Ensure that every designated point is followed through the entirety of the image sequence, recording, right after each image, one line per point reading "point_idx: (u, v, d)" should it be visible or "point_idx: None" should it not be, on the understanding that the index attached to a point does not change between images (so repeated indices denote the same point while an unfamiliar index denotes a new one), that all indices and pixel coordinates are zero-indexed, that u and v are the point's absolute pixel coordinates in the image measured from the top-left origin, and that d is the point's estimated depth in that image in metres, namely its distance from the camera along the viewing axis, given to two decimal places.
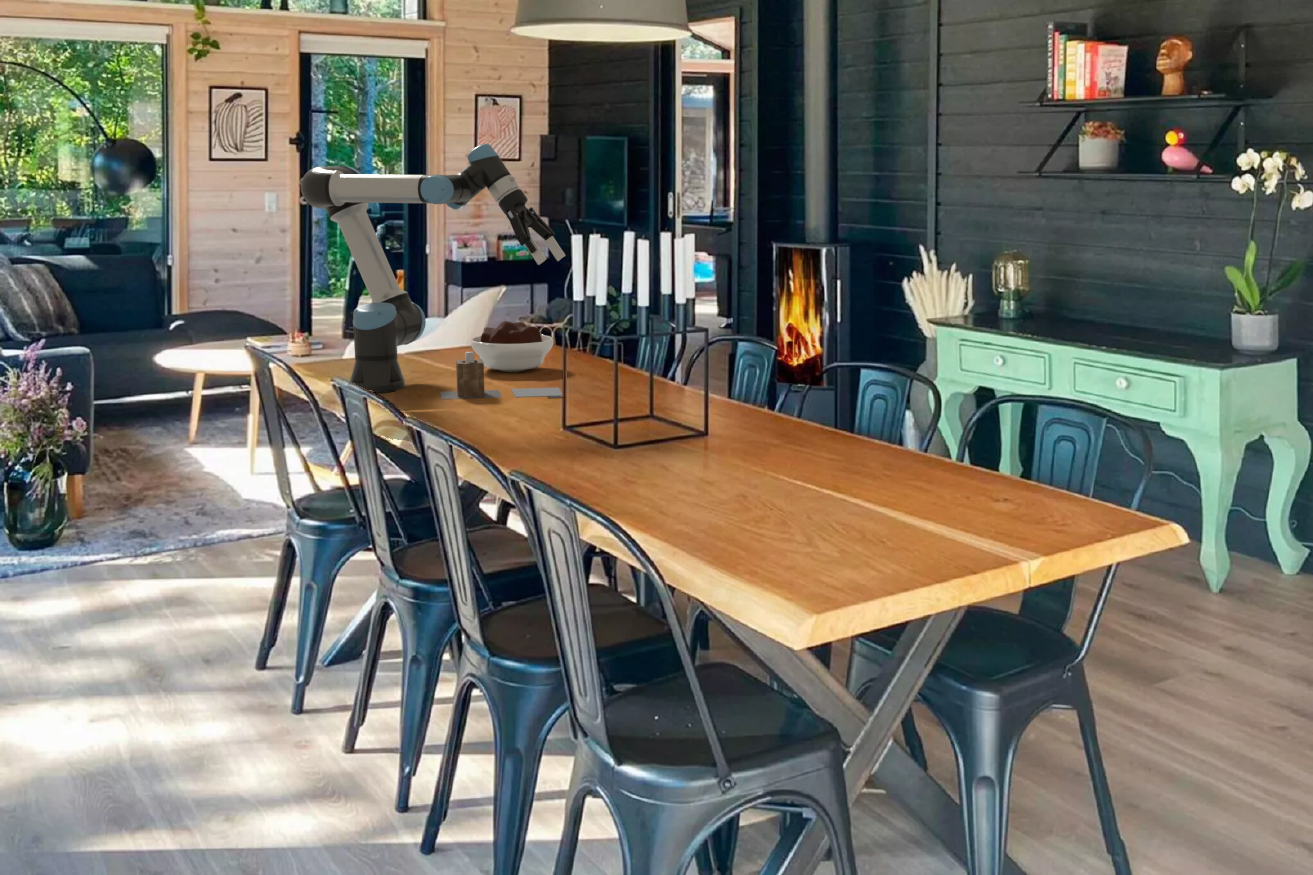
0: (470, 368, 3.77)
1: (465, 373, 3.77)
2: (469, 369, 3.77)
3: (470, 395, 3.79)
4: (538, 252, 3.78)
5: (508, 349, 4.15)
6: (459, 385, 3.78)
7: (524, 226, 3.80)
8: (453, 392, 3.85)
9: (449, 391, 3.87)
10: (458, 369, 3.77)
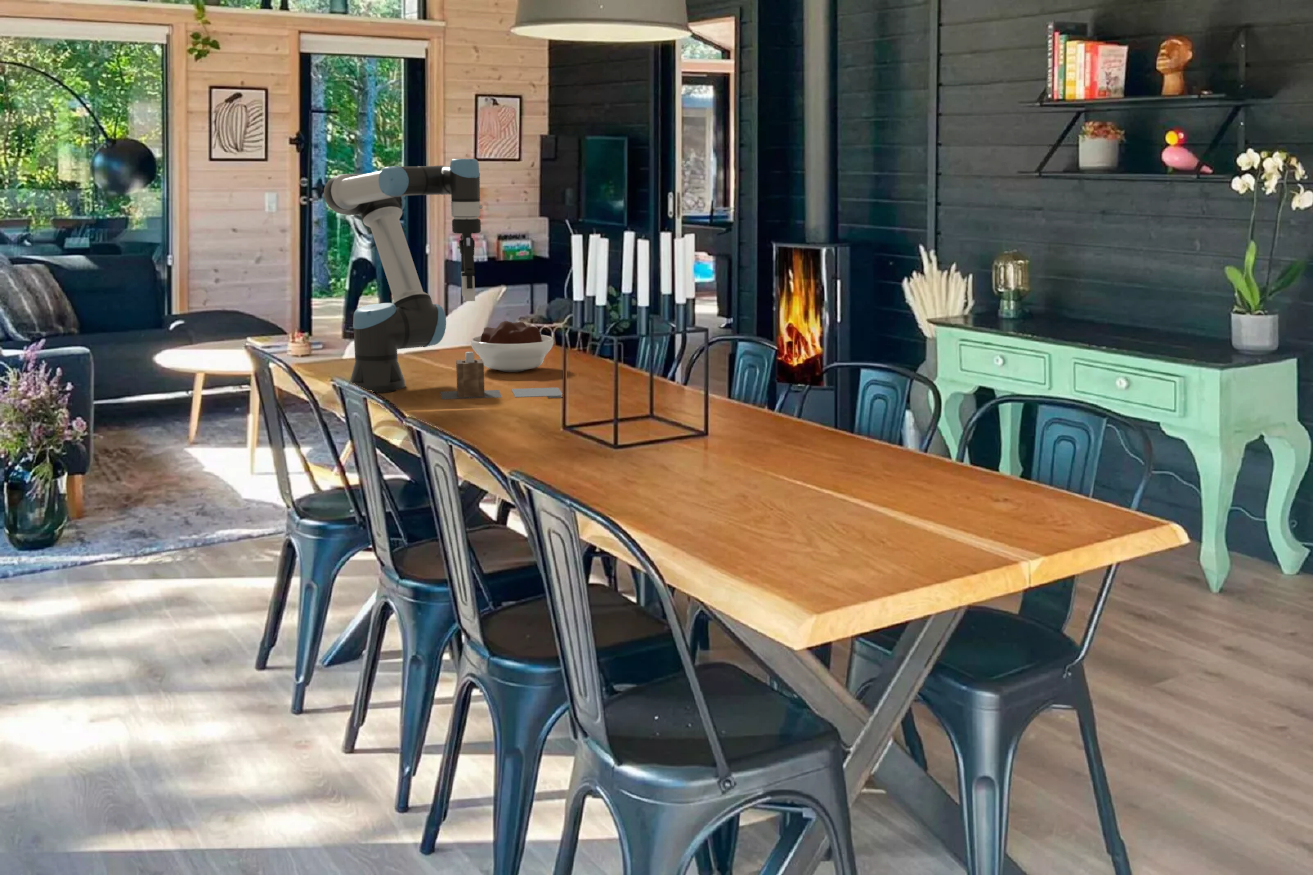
0: (470, 368, 3.77)
1: (465, 373, 3.77)
2: (469, 369, 3.77)
3: (470, 395, 3.79)
4: (472, 291, 3.70)
5: (508, 349, 4.15)
6: (459, 385, 3.78)
7: None
8: (453, 392, 3.85)
9: (449, 391, 3.87)
10: (458, 369, 3.77)
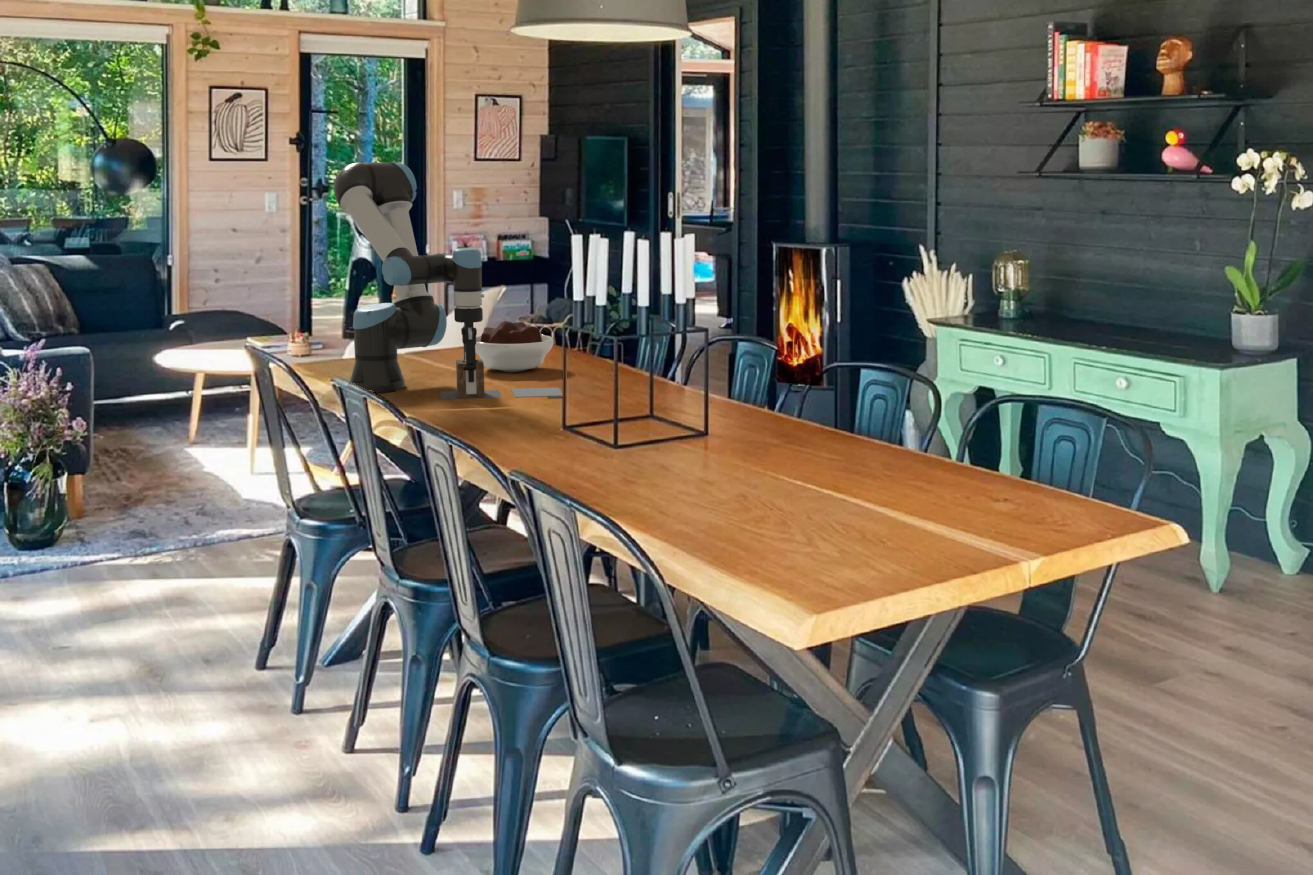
0: None
1: (465, 373, 3.77)
2: None
3: (470, 395, 3.79)
4: (473, 384, 3.78)
5: (508, 349, 4.15)
6: (459, 385, 3.78)
7: None
8: (453, 392, 3.85)
9: (449, 391, 3.87)
10: (458, 369, 3.77)
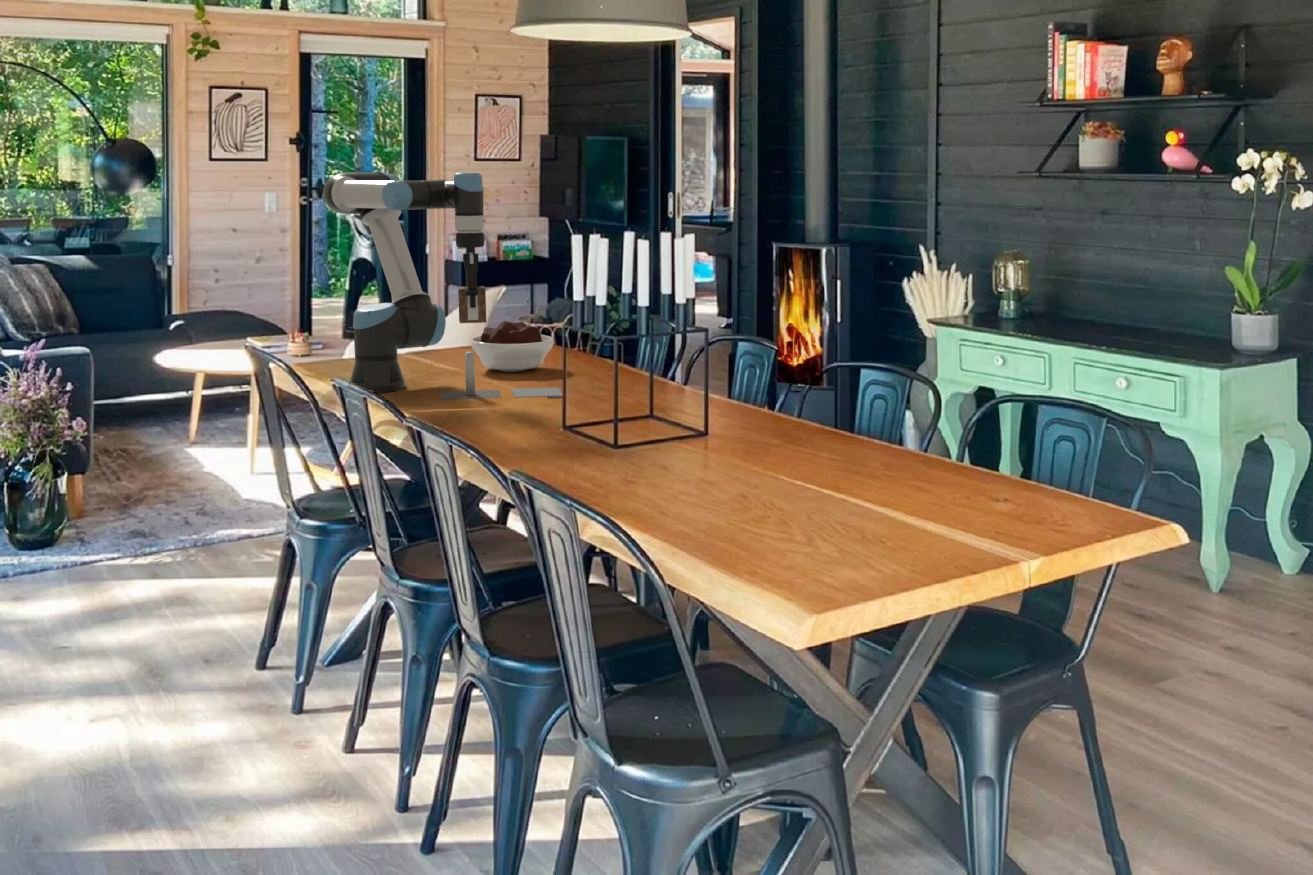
0: None
1: None
2: None
3: (472, 321, 3.75)
4: (475, 310, 3.74)
5: (508, 349, 4.15)
6: (461, 311, 3.74)
7: None
8: (453, 392, 3.85)
9: (449, 391, 3.87)
10: (459, 295, 3.73)
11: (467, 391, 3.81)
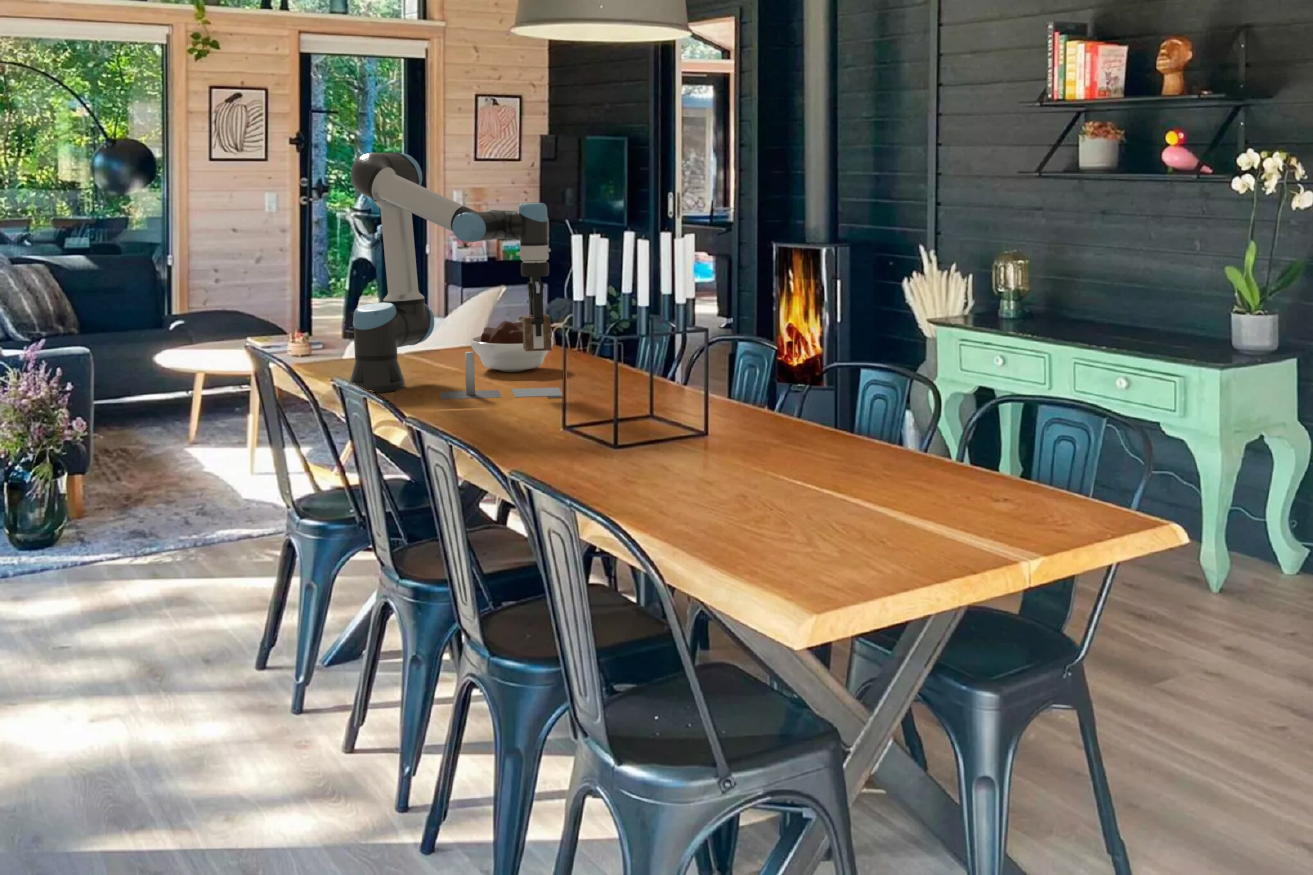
0: None
1: (532, 327, 3.78)
2: None
3: (537, 349, 3.80)
4: (541, 338, 3.78)
5: (508, 349, 4.15)
6: (526, 339, 3.79)
7: None
8: (453, 392, 3.85)
9: (449, 391, 3.87)
10: (525, 323, 3.78)
11: (467, 391, 3.81)
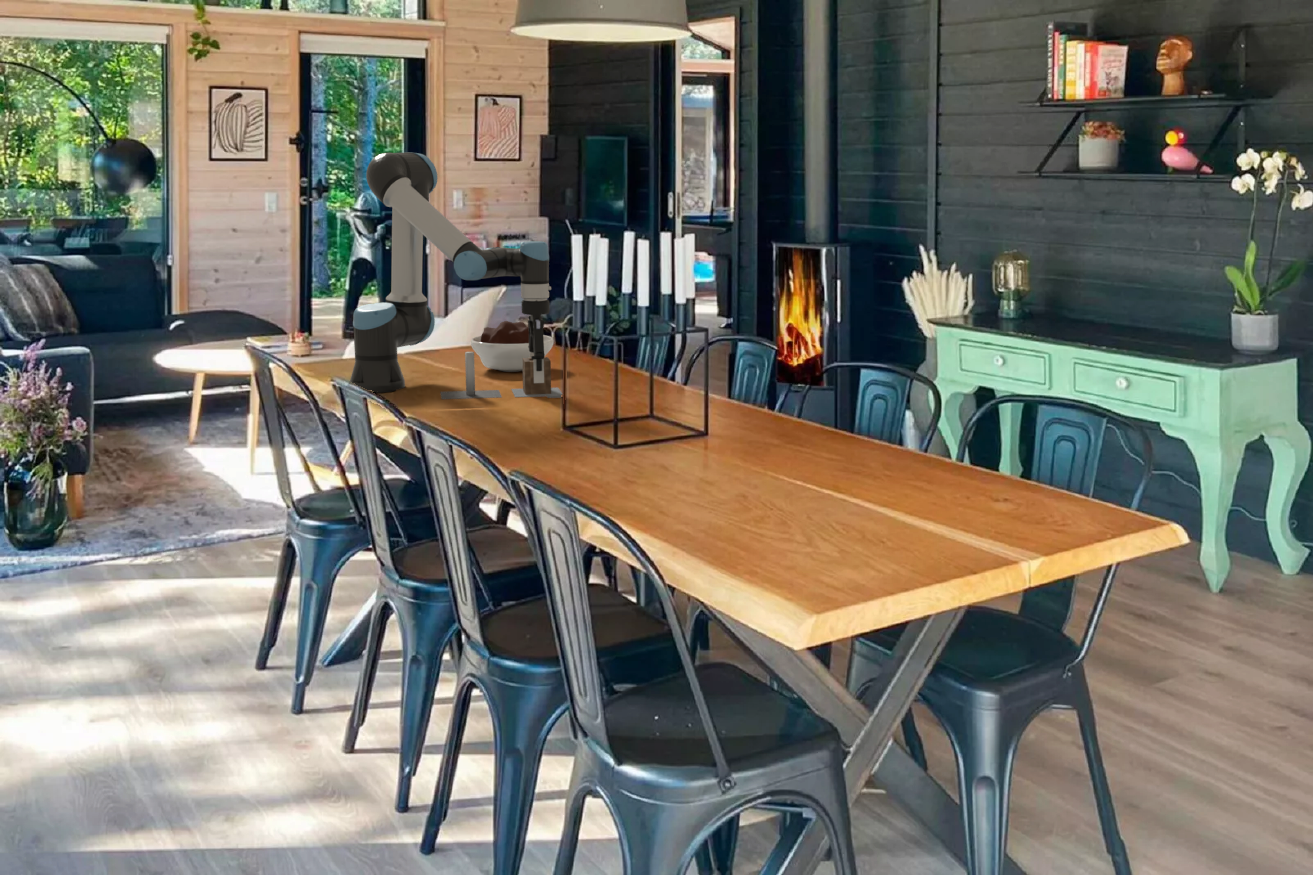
0: None
1: (532, 370, 3.81)
2: None
3: (537, 393, 3.82)
4: (541, 373, 3.78)
5: (508, 349, 4.15)
6: (526, 383, 3.81)
7: None
8: (453, 392, 3.85)
9: (449, 391, 3.87)
10: (525, 367, 3.80)
11: (467, 391, 3.81)
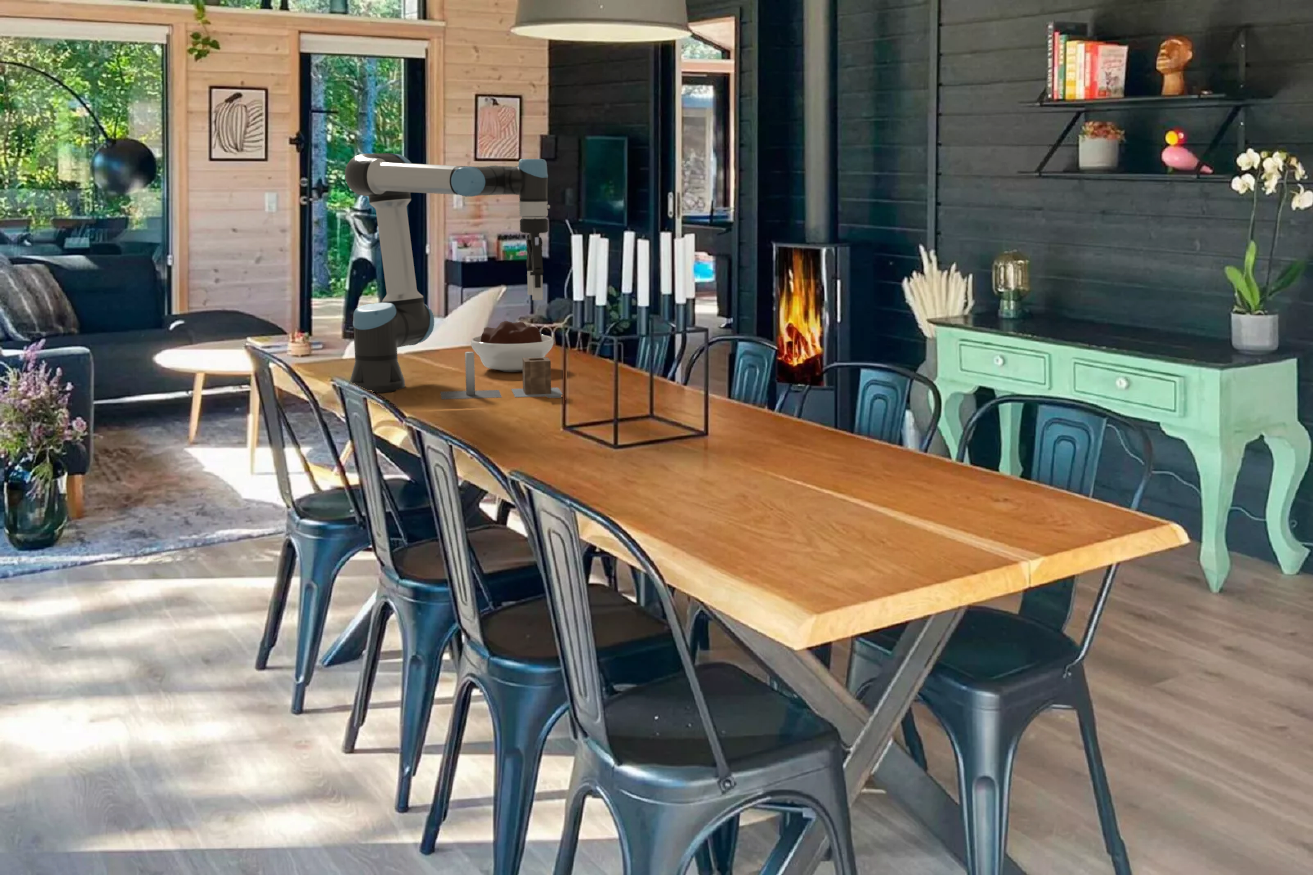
0: (537, 366, 3.81)
1: (532, 370, 3.81)
2: (536, 367, 3.81)
3: (537, 393, 3.82)
4: (540, 290, 3.73)
5: (508, 349, 4.15)
6: (526, 383, 3.81)
7: None
8: (453, 392, 3.85)
9: (449, 391, 3.87)
10: (525, 367, 3.80)
11: (467, 391, 3.81)
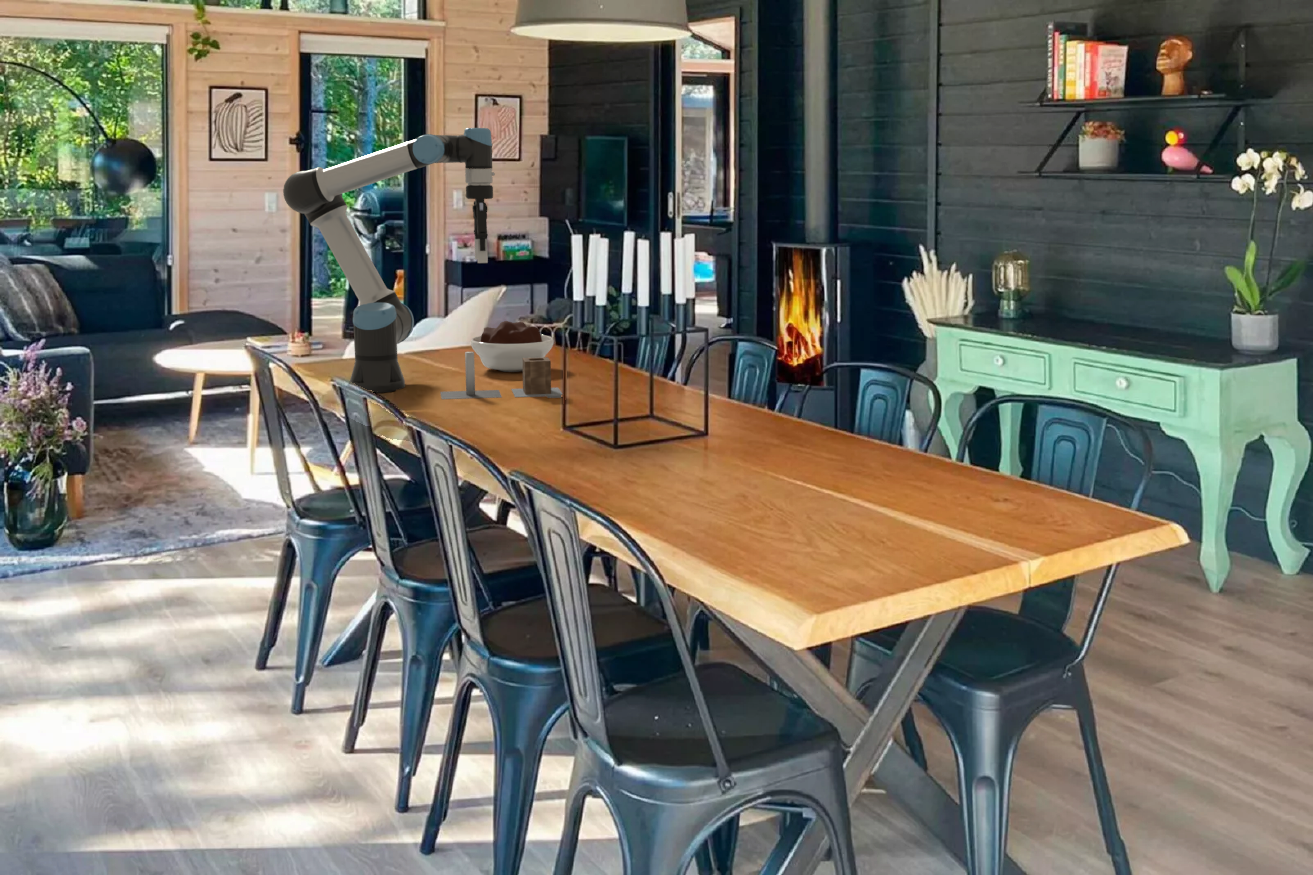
0: (537, 366, 3.81)
1: (532, 370, 3.81)
2: (536, 367, 3.81)
3: (537, 393, 3.82)
4: (485, 253, 3.90)
5: (508, 349, 4.15)
6: (526, 383, 3.81)
7: None
8: (453, 392, 3.85)
9: (449, 391, 3.87)
10: (525, 367, 3.80)
11: (467, 391, 3.81)
